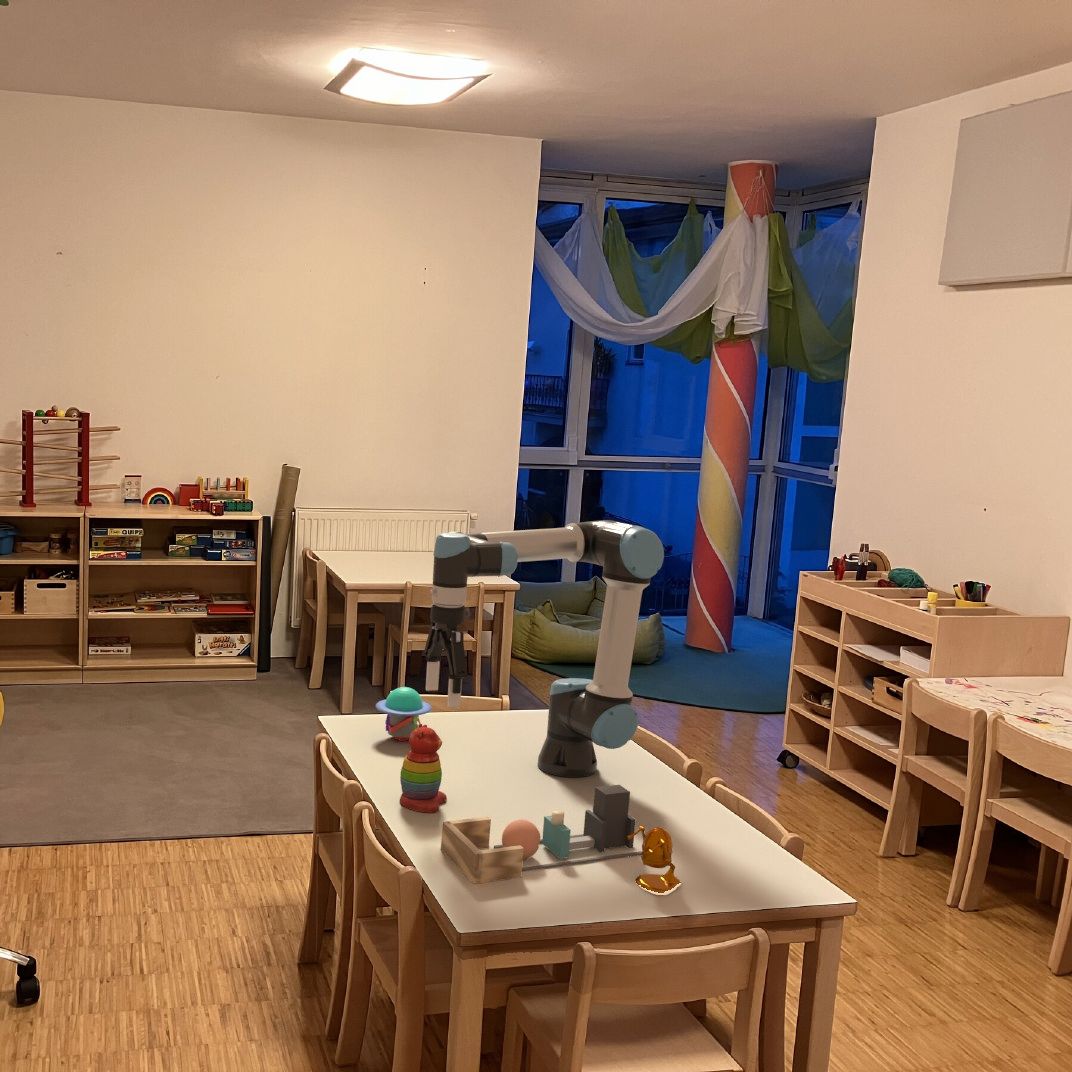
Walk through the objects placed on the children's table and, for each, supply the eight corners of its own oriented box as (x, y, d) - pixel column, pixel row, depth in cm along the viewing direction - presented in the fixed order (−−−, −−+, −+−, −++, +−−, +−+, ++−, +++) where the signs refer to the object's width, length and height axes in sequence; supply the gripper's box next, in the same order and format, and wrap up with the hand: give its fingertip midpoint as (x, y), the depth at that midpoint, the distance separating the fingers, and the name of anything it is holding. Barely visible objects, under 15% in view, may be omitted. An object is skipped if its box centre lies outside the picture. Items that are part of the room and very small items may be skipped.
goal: (485, 843, 242) (487, 816, 241) (521, 877, 227) (523, 848, 226) (440, 849, 237) (442, 821, 237) (473, 883, 222) (476, 854, 222)
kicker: (620, 833, 252) (624, 780, 250) (639, 847, 245) (644, 793, 243) (540, 843, 243) (545, 789, 241) (558, 858, 236) (563, 802, 234)
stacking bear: (435, 814, 256) (440, 737, 254) (392, 808, 258) (396, 731, 256) (448, 798, 267) (453, 724, 264) (407, 792, 269) (411, 718, 266)
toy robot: (426, 749, 300) (430, 697, 298) (369, 745, 300) (372, 692, 298) (432, 732, 315) (436, 682, 313) (378, 728, 315) (381, 678, 313)
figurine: (621, 880, 229) (627, 823, 228) (666, 873, 234) (671, 816, 233) (646, 899, 222) (651, 839, 220) (691, 890, 227) (696, 832, 225)
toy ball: (545, 856, 238) (548, 819, 237) (529, 869, 231) (532, 831, 230) (510, 847, 241) (513, 811, 240) (493, 859, 234) (496, 822, 233)
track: (612, 832, 254) (613, 830, 254) (642, 854, 243) (643, 852, 243) (493, 847, 240) (493, 845, 240) (519, 872, 230) (519, 869, 229)
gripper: (413, 593, 261) (407, 684, 264) (453, 616, 239) (446, 715, 242) (444, 592, 264) (438, 682, 267) (486, 616, 242) (479, 713, 245)
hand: (442, 698), depth 255 cm, fingers open, 13 cm apart
